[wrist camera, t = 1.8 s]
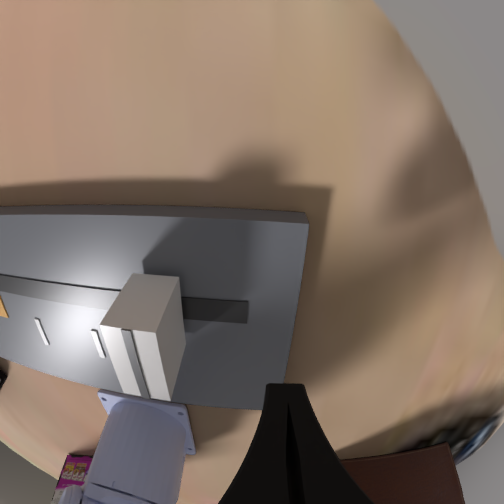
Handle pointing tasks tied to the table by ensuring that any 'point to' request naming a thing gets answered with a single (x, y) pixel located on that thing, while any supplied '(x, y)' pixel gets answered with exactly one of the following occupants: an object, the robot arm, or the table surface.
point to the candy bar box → (72, 474)
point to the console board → (154, 263)
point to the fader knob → (146, 335)
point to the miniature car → (2, 378)
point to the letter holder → (409, 476)
